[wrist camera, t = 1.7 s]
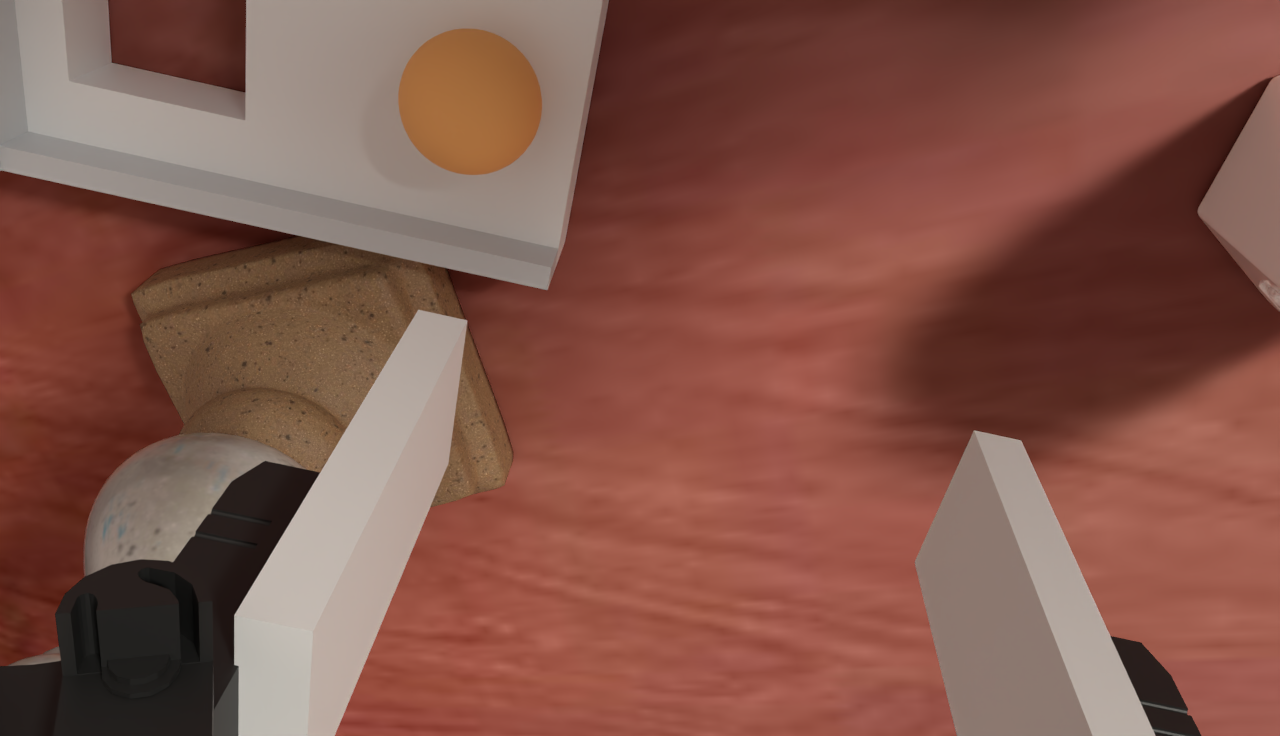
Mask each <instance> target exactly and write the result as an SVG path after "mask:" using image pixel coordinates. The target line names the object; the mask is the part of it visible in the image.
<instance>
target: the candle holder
mask: <svg viewBox="0 0 1280 736" xmlns="http://www.w3.org/2000/svg"><path fill="white" fill-rule="evenodd" d="M131 295H132V299H133V302H134V305H135V307H136V309H137V312H138V314H139V316H140V318H141V320H142V323H141V324H140V327H141V331H142V334H143V340H144V343H145V346H146V348H147V350H148V353H149V355H150V357H151V360H152V362H153V364H154V367H155V369H156V371H157V373H158V375H159V377H160V379H161V381H162V382H163V384H164V386H165V388H166V390H167V392H168V394H169V396H170V398H171V400H172V402H173V404H174V405H175V407H176V409H177V411H178V413H179V415H180V417H181V419H182V421H183V423H184V424H185V425H184V426H183V428H182V430H181V432H180V433H179V435H176V436H172V437H168V438H165V439H162V440H160V441H158V442H155V443H153V444H151V445H149V446H147V447H145V448H143V449H140V450H138V451H137V452H136V453H134V454H133V455H132V456H130V457H129V458H127V459H126V460H125V461H124V462H123V463H122V464H121V465H120V466H119V467H118V468H116V470H115V471H114V472H113V473H112V474H111V475H110V476H109V478H108V479H107V480H106V482H105V483H104V485H103V487H102V488H101V490H100V492H99V493H98V495H97V497H96V499H95V501H94V503H93V505H92V508H91V511H90V515H89V518H88V522H87V525H86V529H85V537H84V550H83V567H84V577H85V576H88V575H90V574H92V573H94V572H96V571H99V570H101V569H103V568H105V567H107V566H110V565H112V564H118V563H123V562H128V561H134V560H139V559H145V560H163V561H171V562H174V560H175V559H176V558H177V556H178V555H179V553H180V552H181V551H182V549H183V548H184V546H185V545H186V544H187V542H188V541H189V540H190V538H191V537H194V536H195V533H196V530H197V529H198V527H199V526H200V524H201V523H202V522H203V520H204V519H205V517H206V516H207V515H208V514H211V511H212V508H213V506H214V505H215V504H216V502H217V501H218V499H219V498H220V497H221V495H222V494H223V493H224V491H225V490H226V488H227V487H228V486H229V484H230V483H231V482H232V481H233V480H235V479H236V478H238V477H239V476H241V475H243V474H244V473H246V472H248V471H249V470H251V469H252V468H254V467H256V466H257V465H259V464H261V463H262V462H264V461H268V462H273V463H278V464H283V465H287V466H292V467H297V468H302V469H306V470H311V471H316V472H321V471H322V469H323V467H324V466H325V464H326V462H327V461H328V459H329V457H330V456H331V454H332V452H333V451H334V449H335V447H336V446H337V444H338V442H339V441H340V439H341V437H342V436H343V434H344V432H345V431H346V429H347V427H348V426H349V424H350V422H351V421H352V419H353V417H354V416H355V414H356V412H357V411H358V409H359V407H360V406H361V404H362V402H363V401H364V399H365V397H366V396H367V394H368V392H369V391H370V389H371V387H372V386H373V384H374V383H375V381H376V379H377V378H378V376H379V374H380V373H381V371H382V369H383V368H384V366H385V364H386V363H387V361H388V359H389V358H390V356H391V354H392V353H393V351H394V349H395V348H396V346H397V344H398V343H399V341H400V339H401V338H402V336H403V334H404V333H405V331H406V329H407V328H408V326H409V324H410V323H411V321H412V319H413V318H414V316H415V314H416V313H417V311H418V310H422V311H427V312H431V313H436V314H441V315H445V316H450V317H454V318H459V319H464V320H466V319H465V316H464V313H463V311H462V308H461V305H460V303H459V300H458V297H457V295H456V292H455V289H454V287H453V284H452V281H451V279H450V276H449V273H448V271H447V268H444V267H439V266H435V265H430V264H426V263H421V262H416V261H412V260H407V259H403V258H398V257H394V256H389V255H385V254H380V253H375V252H371V251H366V250H362V249H357V248H353V247H348V246H344V245H339V244H334V243H330V242H325V241H321V240H316V239H312V238H307V237H303V236H295V237H291V238H286V239H282V240H278V241H273V242H269V243H264V244H260V245H255V246H251V247H246V248H242V249H237V250H233V251H229V252H224V253H220V254H215V255H211V256H206V257H202V258H197V259H193V260H190V261H186V262H183V263H179V264H176V265H172V266H169V267H165V268H162V269H160V270H159V271H157V272H156V273H154V274H153V275H152V276H151V277H150V278H149V279H147V280H146V281H145V282H144V283H143V284H142V285H141V286H139V287H138V288H137V289H136V290H135V291H134V292H133V293H132V294H131ZM512 462H513V449H512V446H511V443H510V440H509V436H508V433H507V430H506V427H505V424H504V421H503V418H502V415H501V413H500V410H499V407H498V405H497V402H496V399H495V397H494V394H493V391H492V388H491V386H490V383H489V380H488V378H487V375H486V372H485V370H484V367H483V364H482V362H481V359H480V356H479V354H478V351H477V348H476V346H475V343H474V340H473V338H472V335H471V332H470V329H469V327H468V324H467V328H466V335H465V343H464V350H463V358H462V365H461V373H460V380H459V388H458V395H457V403H456V410H455V418H454V425H453V433H452V440H451V448H450V455H449V463H448V466H447V468H446V470H445V473H444V475H443V478H442V480H441V482H440V485H439V487H438V490H437V492H436V494H435V497H434V499H433V502H432V504H431V506H430V507H433V506H437V505H441V504H445V503H448V502H452V501H456V500H459V499H461V498H464V497H467V496H469V495H472V494H475V493H480V492H484V491H488V490H493V489H496V488H499V487H501V486H504V485H505V482H506V479H507V476H508V473H509V470H510V468H511V465H512ZM56 661H61V658H60V650H59V647H56V648H54V649H51V650H49V651H46V652H45V653H43V654H41V655H36V656H32V657H27V658H24V659H22V660H19V661H17V662H14V663H12V664H10V665H8V666H17V665H34V664H41V663H49V662H56Z"/></svg>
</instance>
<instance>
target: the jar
mask: <svg viewBox="0 0 1280 736" xmlns="http://www.w3.org/2000/svg"><path fill="white" fill-rule="evenodd" d="M1197 212H1198V215H1199V217H1200V218H1201V220H1202V221H1203V222H1204V223H1205V224H1206V226H1207V227H1208V228H1209V229H1210V231H1211V232H1212V233H1213V234H1214V236H1215V237H1216V238H1217V239H1218V240H1219V242H1220V243H1221V244H1222V245H1223V247H1224V248H1225V249H1226V250H1227V252H1228V253H1229V254H1230V255H1231V256H1232V258H1233V259H1234V260H1235V261H1236V263H1237V264H1238V265H1239V266H1240V268H1241V269H1242V270H1243V271H1244V272H1245V274H1246V275H1247V276H1248V277H1249V279H1250V280H1251V281H1252V282H1253V284H1254V285H1255V286H1256V287H1257V288H1258V290H1259V291H1260V292H1261V293H1262V295H1263V296H1264V297H1265V298H1266V300H1267V301H1268V302H1269V303H1270V304H1272V305H1273V306H1274V307H1275V308H1276V309H1277V310H1278V311H1279V312H1280V75H1278V76H1276V77H1274V78H1273V79H1272V80H1271V81H1270V82H1269V84H1268V86H1267V87H1266V89H1265V91H1264V93H1263V95H1262V96H1261V98H1260V100H1259V102H1258V103H1257V105H1256V107H1255V109H1254V110H1253V112H1252V114H1251V116H1250V118H1249V119H1248V121H1247V123H1246V125H1245V126H1244V128H1243V130H1242V132H1241V133H1240V135H1239V137H1238V139H1237V140H1236V142H1235V144H1234V146H1233V147H1232V149H1231V151H1230V153H1229V154H1228V156H1227V158H1226V160H1225V162H1224V163H1223V165H1222V167H1221V169H1220V170H1219V172H1218V174H1217V176H1216V177H1215V179H1214V181H1213V183H1212V184H1211V186H1210V188H1209V190H1208V191H1207V193H1206V195H1205V197H1204V198H1203V200H1202V202H1201V204H1200V205H1199V207H1198V211H1197Z"/></svg>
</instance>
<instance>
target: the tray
mask: <svg viewBox="0 0 1280 736" xmlns="http://www.w3.org/2000/svg"><path fill="white" fill-rule="evenodd" d="M608 3H609V0H246V93H245V92H241V91H236V90H232V89H227V88H223V87H218V86H214V85H209V84H205V83H201V82H196V81H192V80H187V79H183V78H178V77H174V76H169V75H165V74H160V73H156V72H151V71H147V70H143V69H138V68H134V67H129V66H125V65H120V64H116V63H112V58H111V41H110V25H109V8H108V0H0V171H1V170H2V171H6V172H11V173H16V174H20V175H25V176H29V177H34V178H38V179H43V180H47V181H52V182H57V183H61V184H66V185H70V186H75V187H79V188H84V189H88V190H93V191H98V192H102V193H107V194H111V195H116V196H120V197H125V198H129V199H134V200H139V201H143V202H148V203H152V204H157V205H161V206H166V207H170V208H175V209H180V210H184V211H189V212H193V213H198V214H202V215H207V216H211V217H216V218H221V219H225V220H230V221H234V222H239V223H243V224H248V225H252V226H257V227H262V228H266V229H271V230H275V231H280V232H284V233H289V234H293V235H298V236H303V237H307V238H312V239H316V240H321V241H325V242H330V243H334V244H339V245H344V246H348V247H353V248H357V249H362V250H366V251H371V252H375V253H380V254H385V255H389V256H394V257H398V258H403V259H407V260H412V261H416V262H421V263H426V264H430V265H435V266H439V267H444V268H448V269H453V270H457V271H462V272H467V273H471V274H476V275H480V276H485V277H489V278H494V279H498V280H503V281H508V282H512V283H517V284H521V285H526V286H530V287H535V288H540V289H544V290H548V287H549V285H550V282H551V279H552V276H553V274H554V271H555V268H556V265H557V263H558V260H559V257H560V254H561V252H562V249H563V246H564V243H565V240H566V234H567V229H568V223H569V218H570V212H571V207H572V201H573V196H574V190H575V185H576V179H577V174H578V168H579V163H580V157H581V152H582V146H583V141H584V135H585V130H586V124H587V119H588V113H589V108H590V102H591V97H592V91H593V86H594V80H595V75H596V69H597V64H598V58H599V53H600V47H601V42H602V36H603V31H604V25H605V20H606V14H607V9H608ZM463 28H464V29H479V30H484V31H488V32H491V33H494V34H496V35H498V36H501V37H502V38H504V39H506V40H507V41H509V42H510V43H511V44H513V45H514V46H515V47H516V48H517V49H518V50H519V51H520V52H521V53H522V54H523V55H524V56H525V57H526V59H527V60H528V61H529V63H530V65H531V66H532V68H533V70H534V72H535V74H536V76H537V79H538V82H539V85H540V90H541V96H542V114H541V120H540V124H539V127H538V130H537V133H536V135H535V137H534V139H533V141H532V143H531V144H530V146H529V147H528V148H527V150H526V151H525V152H524V153H523V154H522V155H521V156H520V157H519V158H518V159H517V160H515V161H514V162H513V163H511V164H510V165H508V166H506V167H504V168H502V169H500V170H498V171H495V172H492V173H488V174H481V175H465V174H458V173H454V172H451V171H448V170H446V169H443V168H441V167H439V166H437V165H436V164H434V163H432V162H431V161H430V160H428V159H427V158H426V157H425V156H424V155H423V154H421V153H420V152H419V150H418V149H417V148H416V147H415V146H414V144H413V143H412V141H411V140H410V139H409V137H408V135H407V133H406V131H405V129H404V126H403V123H402V120H401V116H400V112H399V104H398V92H399V85H400V81H401V78H402V74H403V71H404V69H405V67H406V65H407V63H408V61H409V60H410V58H411V57H412V56H413V54H414V53H415V52H416V51H417V50H418V49H419V47H421V46H422V45H423V44H424V43H425V42H426V41H428V40H430V39H431V38H433V37H435V36H437V35H439V34H441V33H444V32H446V31H450V30H454V29H463Z"/></svg>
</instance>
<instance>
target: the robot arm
mask: <svg viewBox="0 0 1280 736" xmlns="http://www.w3.org/2000/svg"><path fill="white" fill-rule="evenodd" d="M466 328H467V320H464V319H459V318H454V317H450V316H445V315H441V314H436V313H431V312H427V311H422V310H418V311H417V313H416V314H415V316H414V318H413V319H412V321H411V323H410V324H409V326H408V328H407V329H406V331H405V333H404V334H403V336H402V338H401V339H400V341H399V343H398V344H397V346H396V348H395V349H394V351H393V353H392V354H391V356H390V358H389V359H388V361H387V363H386V364H385V366H384V368H383V369H382V371H381V373H380V374H379V376H378V378H377V379H376V381H375V383H374V384H373V386H372V387H371V389H370V391H369V392H368V394H367V396H366V397H365V399H364V401H363V402H362V404H361V406H360V407H359V409H358V411H357V412H356V414H355V416H354V417H353V419H352V421H351V422H350V424H349V426H348V427H347V429H346V431H345V432H344V434H343V436H342V437H341V439H340V441H339V442H338V444H337V446H336V447H335V449H334V451H333V452H332V454H331V456H330V457H329V459H328V461H327V462H326V464H325V466H324V467H323V469H322V471H321V472H316V471H311V470H306V469H302V468H297V467H292V466H287V465H283V464H278V463H273V462H268V461H264V462H262V463H261V464H259V465H257V466H256V467H254V468H252V469H251V470H249V471H248V472H246V473H244V474H243V475H241V476H239V477H238V478H236V479H235V480H233V481H232V482H231V483H230V484H229V486H228V487H227V488H226V490H225V491H224V493H223V494H222V495H221V497H220V498H219V499H218V501H217V502H216V504H215V505H214V506H213V508H212V511H211V514H208V515H207V516H206V517H205V519H204V520H203V522H202V523H201V524H200V526H199V527H198V529H197V530H196V533H195V536H194V537H191V538H190V540H189V541H188V542H187V544H186V545H185V546H184V548H183V549H182V551H181V552H180V553H179V555H178V556H177V558H176V559H175V560H174V562H171V561H163V560H145V559H139V560H134V561H128V562H123V563H118V564H112V565H110V566H107V567H105V568H103V569H101V570H99V571H96V572H94V573H92V574H90V575H88V576H85V577H84V578H83V579H82V580H80V581H79V582H78V583H77V584H76V585H75V586H74V587H72V588H71V589H70V590H69V591H68V592H67V593H65V595H64V597H63V599H62V601H61V603H60V605H59V607H58V609H57V611H56V613H55V617H56V625H57V633H58V642H59V650H60V658H61V661H56V662H49V663H41V664H34V665H17V666H0V736H335V733H336V731H337V729H338V726H339V724H340V721H341V719H342V717H343V714H344V712H345V710H346V707H347V705H348V702H349V700H350V698H351V695H352V693H353V690H354V688H355V686H356V683H357V681H358V678H359V676H360V674H361V671H362V669H363V667H364V664H365V662H366V659H367V657H368V655H369V652H370V650H371V647H372V645H373V643H374V640H375V638H376V635H377V633H378V631H379V628H380V626H381V623H382V621H383V619H384V616H385V614H386V612H387V609H388V607H389V604H390V602H391V600H392V597H393V595H394V592H395V590H396V588H397V585H398V583H399V580H400V578H401V576H402V573H403V571H404V568H405V566H406V564H407V561H408V559H409V557H410V554H411V552H412V549H413V547H414V545H415V542H416V540H417V537H418V535H419V533H420V530H421V528H422V525H423V523H424V521H425V518H426V516H427V514H428V511H429V509H430V506H431V504H432V502H433V499H434V497H435V494H436V492H437V490H438V487H439V485H440V482H441V480H442V478H443V475H444V473H445V470H446V468H447V466H448V463H449V455H450V448H451V440H452V433H453V425H454V418H455V410H456V403H457V395H458V388H459V380H460V373H461V365H462V358H463V350H464V343H465V335H466ZM915 566H916V570H917V574H918V578H919V582H920V586H921V590H922V594H923V599H924V603H925V607H926V611H927V615H928V619H929V623H930V627H931V631H932V635H933V640H934V644H935V648H936V652H937V656H938V660H939V664H940V668H941V672H942V676H943V681H944V685H945V689H946V693H947V697H948V701H949V705H950V709H951V713H952V718H953V722H954V726H955V730H956V734H957V736H1201V734H1200V732H1199V730H1198V728H1197V726H1196V724H1195V722H1194V720H1193V718H1192V716H1189V715H1187V710H1188V708H1187V706H1186V704H1185V702H1184V700H1183V698H1182V697H1181V695H1180V693H1179V691H1178V689H1177V687H1176V685H1175V683H1174V681H1173V679H1172V677H1171V675H1170V674H1169V673H1168V672H1167V671H1166V670H1165V668H1164V667H1163V666H1162V665H1161V664H1160V663H1159V662H1158V661H1157V660H1156V659H1155V657H1154V656H1153V655H1152V654H1151V653H1150V652H1149V651H1148V650H1147V649H1146V648H1145V647H1144V645H1143V644H1142V643H1140V642H1136V641H1131V640H1126V639H1121V638H1117V637H1112V636H1110V635H1109V632H1108V630H1107V628H1106V626H1105V624H1104V621H1103V619H1102V617H1101V615H1100V613H1099V610H1098V608H1097V606H1096V604H1095V602H1094V599H1093V597H1092V595H1091V593H1090V591H1089V588H1088V586H1087V584H1086V582H1085V580H1084V577H1083V575H1082V573H1081V571H1080V569H1079V566H1078V564H1077V562H1076V560H1075V558H1074V555H1073V553H1072V551H1071V549H1070V547H1069V544H1068V542H1067V540H1066V538H1065V536H1064V533H1063V531H1062V529H1061V527H1060V525H1059V522H1058V520H1057V518H1056V516H1055V514H1054V511H1053V509H1052V507H1051V505H1050V503H1049V500H1048V498H1047V496H1046V494H1045V492H1044V490H1043V487H1042V485H1041V483H1040V481H1039V479H1038V476H1037V474H1036V472H1035V470H1034V468H1033V465H1032V463H1031V461H1030V459H1029V457H1028V454H1027V452H1026V450H1025V448H1024V446H1023V443H1022V441H1021V440H1017V439H1012V438H1008V437H1003V436H998V435H994V434H989V433H985V432H980V431H975V430H974V431H973V433H972V436H971V438H970V440H969V442H968V445H967V447H966V449H965V451H964V453H963V456H962V458H961V460H960V462H959V465H958V467H957V469H956V471H955V473H954V476H953V478H952V480H951V482H950V485H949V487H948V489H947V491H946V494H945V496H944V498H943V500H942V502H941V505H940V507H939V509H938V511H937V514H936V516H935V518H934V520H933V522H932V525H931V527H930V529H929V531H928V534H927V536H926V538H925V540H924V542H923V545H922V547H921V549H920V551H919V554H918V556H917V558H916V560H915Z"/></svg>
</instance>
